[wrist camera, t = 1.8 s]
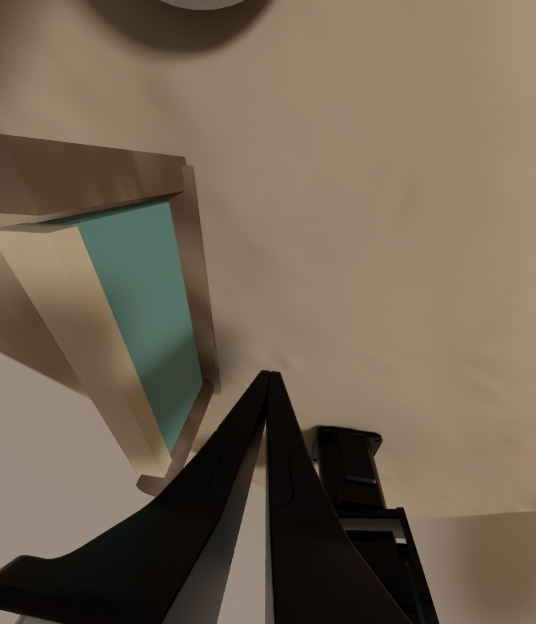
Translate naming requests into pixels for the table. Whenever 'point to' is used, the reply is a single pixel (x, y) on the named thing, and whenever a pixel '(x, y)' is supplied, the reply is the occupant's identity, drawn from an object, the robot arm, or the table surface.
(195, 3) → the flower in vase
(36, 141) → the gate frame
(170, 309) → the panel
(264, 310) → the table surface
